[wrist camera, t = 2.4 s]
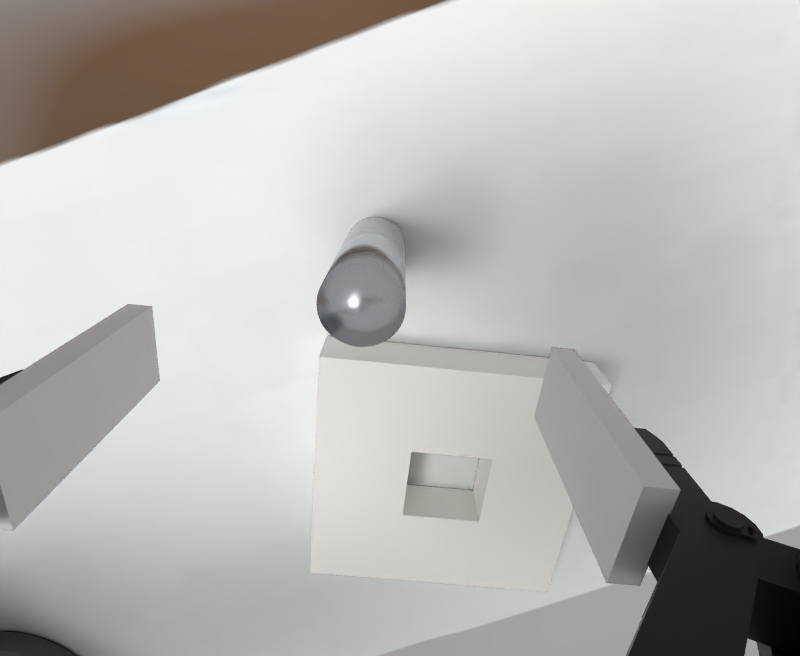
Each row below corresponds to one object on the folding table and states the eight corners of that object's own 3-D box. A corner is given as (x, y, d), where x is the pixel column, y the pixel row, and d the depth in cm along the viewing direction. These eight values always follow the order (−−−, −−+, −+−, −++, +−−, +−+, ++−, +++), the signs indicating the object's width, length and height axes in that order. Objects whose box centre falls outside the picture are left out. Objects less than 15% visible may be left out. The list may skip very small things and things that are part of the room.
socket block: (316, 539, 43) (309, 572, 39) (326, 335, 35) (319, 356, 32) (536, 557, 43) (547, 592, 40) (593, 361, 36) (612, 385, 32)
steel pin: (344, 271, 33) (315, 342, 22) (348, 213, 32) (318, 258, 20) (401, 277, 33) (400, 350, 22) (407, 220, 32) (410, 268, 21)
